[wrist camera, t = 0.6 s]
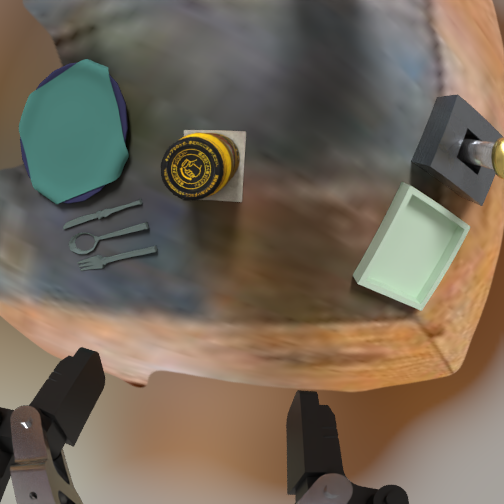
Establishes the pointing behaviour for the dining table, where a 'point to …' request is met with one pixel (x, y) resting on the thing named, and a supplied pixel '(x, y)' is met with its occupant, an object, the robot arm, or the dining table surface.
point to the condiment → (206, 165)
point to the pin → (484, 154)
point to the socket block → (455, 147)
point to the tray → (411, 248)
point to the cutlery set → (78, 144)
